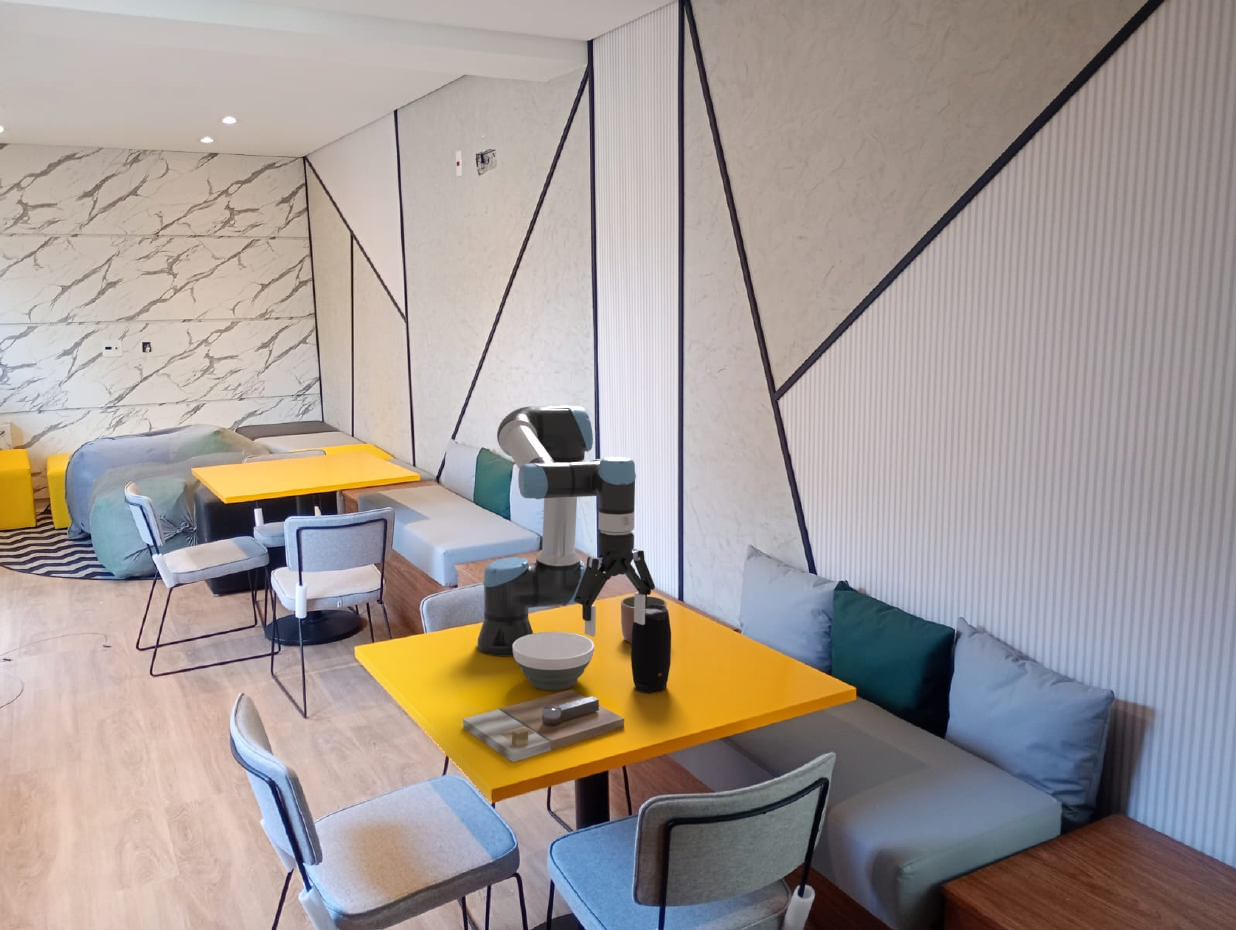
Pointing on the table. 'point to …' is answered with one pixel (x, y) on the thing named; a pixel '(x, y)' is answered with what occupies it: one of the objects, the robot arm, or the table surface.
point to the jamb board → (538, 727)
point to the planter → (628, 614)
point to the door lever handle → (569, 710)
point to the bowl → (553, 658)
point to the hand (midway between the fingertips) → (615, 629)
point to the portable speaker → (651, 650)
